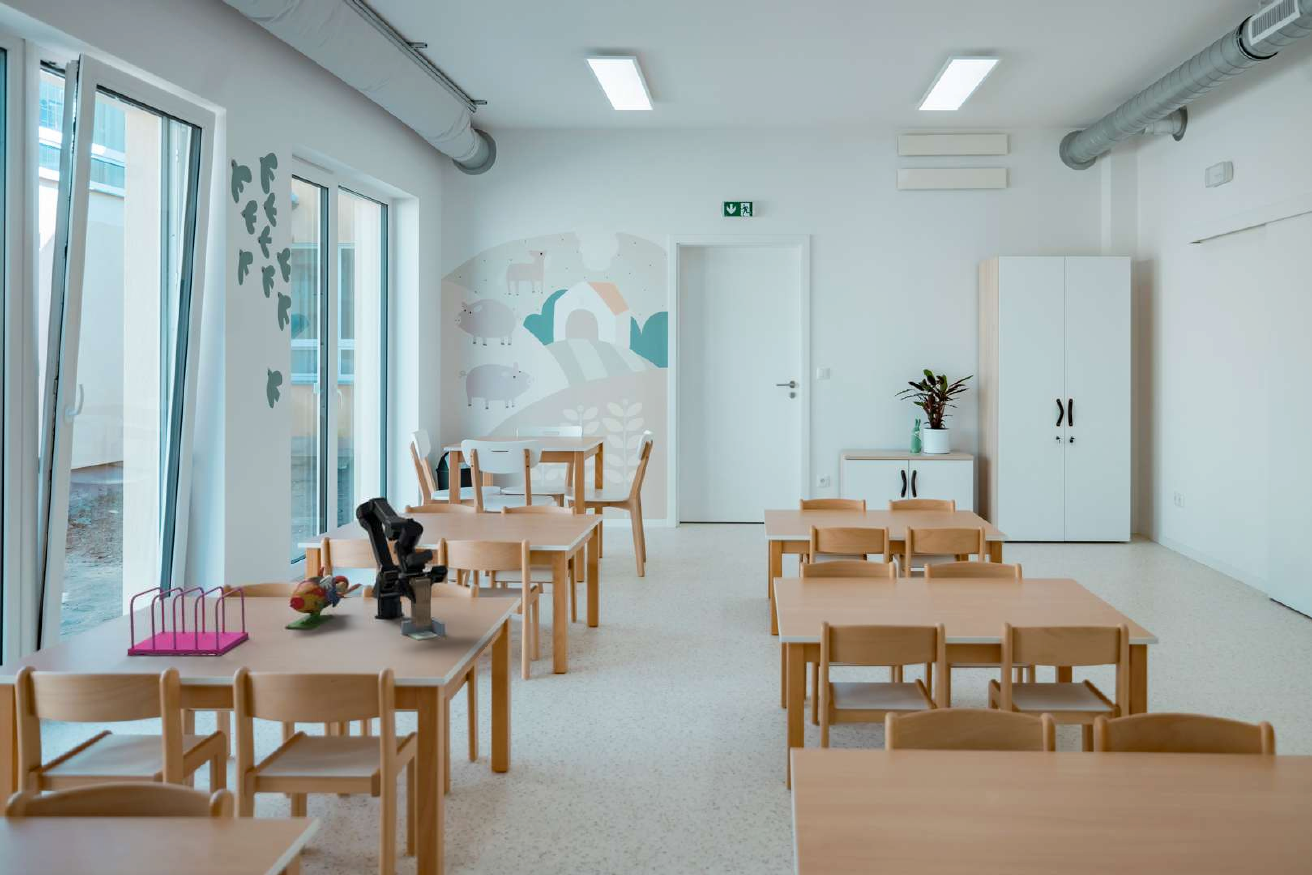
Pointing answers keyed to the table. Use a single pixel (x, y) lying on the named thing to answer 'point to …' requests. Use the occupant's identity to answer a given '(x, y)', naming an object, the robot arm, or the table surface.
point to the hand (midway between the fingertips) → (422, 601)
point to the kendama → (342, 583)
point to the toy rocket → (314, 600)
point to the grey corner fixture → (423, 629)
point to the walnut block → (421, 601)
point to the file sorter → (188, 640)
